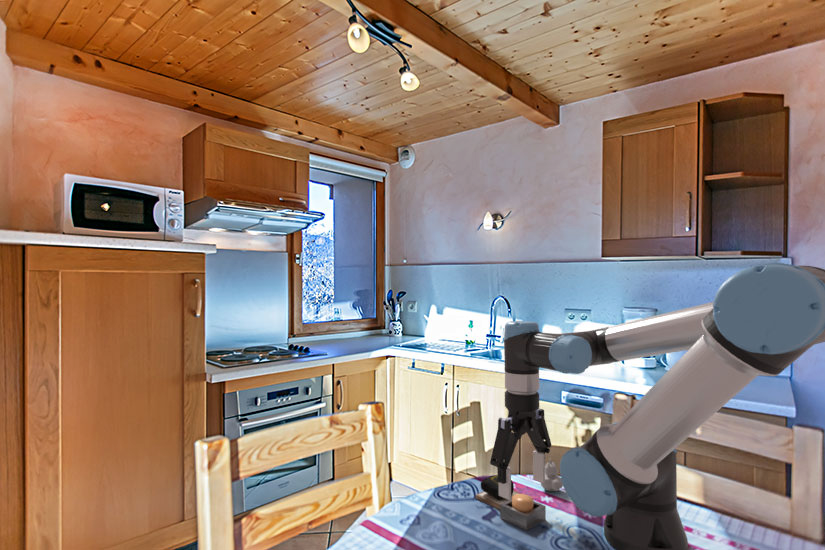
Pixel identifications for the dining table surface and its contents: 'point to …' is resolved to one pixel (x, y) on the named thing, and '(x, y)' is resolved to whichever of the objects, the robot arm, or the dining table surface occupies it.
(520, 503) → the button
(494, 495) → the tape measure
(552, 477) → the bunny figurine
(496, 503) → the wooden square coaster
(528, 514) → the button box
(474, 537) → the dining table surface
